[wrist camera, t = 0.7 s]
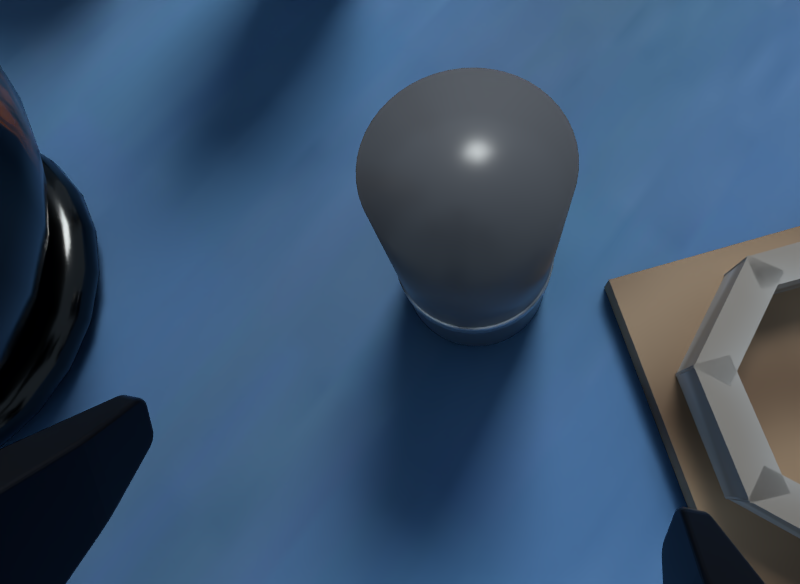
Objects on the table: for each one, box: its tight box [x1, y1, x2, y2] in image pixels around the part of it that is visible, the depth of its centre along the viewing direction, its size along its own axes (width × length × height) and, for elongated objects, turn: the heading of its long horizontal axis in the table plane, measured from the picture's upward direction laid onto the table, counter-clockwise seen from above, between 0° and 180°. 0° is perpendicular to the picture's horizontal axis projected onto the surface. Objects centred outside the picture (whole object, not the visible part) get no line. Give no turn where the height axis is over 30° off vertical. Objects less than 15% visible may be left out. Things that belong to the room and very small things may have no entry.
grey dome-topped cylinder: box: [356, 68, 579, 346], centre depth 19 cm, size 6×6×10 cm
